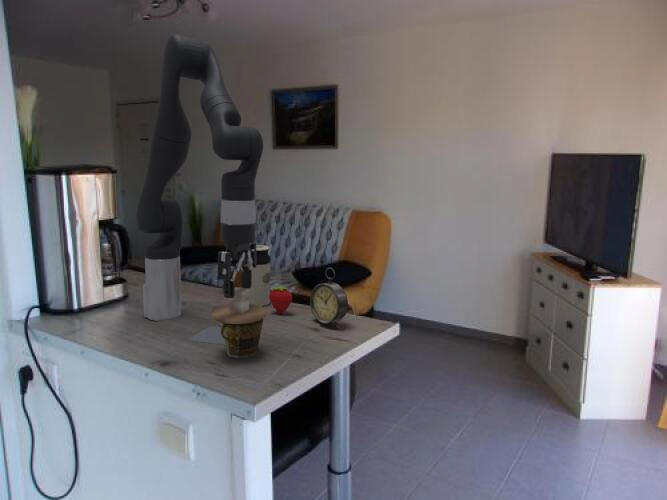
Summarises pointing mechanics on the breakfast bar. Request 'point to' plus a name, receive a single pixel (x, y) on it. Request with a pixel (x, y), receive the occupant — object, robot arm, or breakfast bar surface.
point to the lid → (239, 309)
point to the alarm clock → (328, 302)
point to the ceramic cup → (242, 338)
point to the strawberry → (280, 299)
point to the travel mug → (260, 278)
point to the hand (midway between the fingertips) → (238, 292)
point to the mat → (209, 336)
